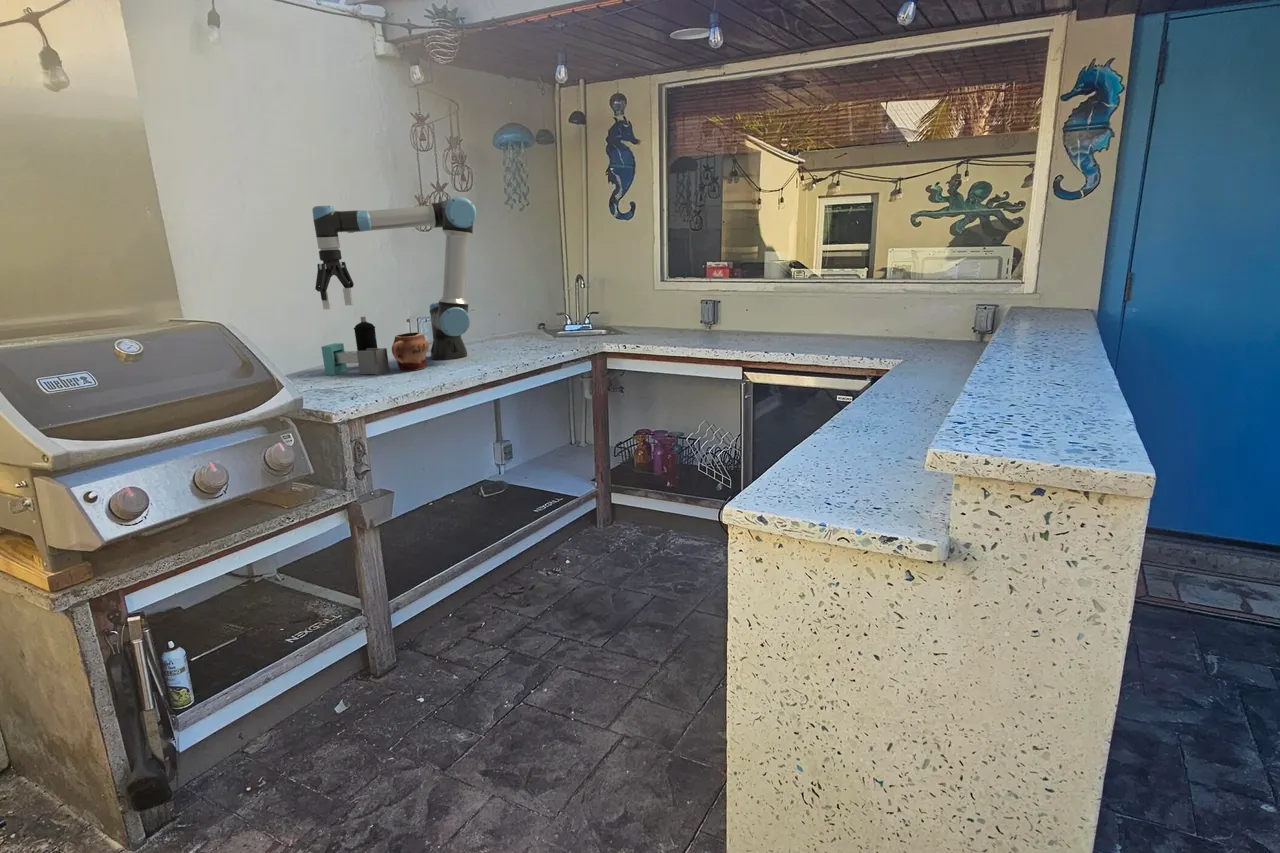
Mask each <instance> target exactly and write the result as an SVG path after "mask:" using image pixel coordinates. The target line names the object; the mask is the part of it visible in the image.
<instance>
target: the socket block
mask: <svg viewBox="0 0 1280 853" xmlns="http://www.w3.org/2000/svg"><path fill="white" fill-rule="evenodd" d="M344 346H345V345H344V342H343V343H342V342H340V343H338V342H336V343H335V342H334V343H330V344H326V345H322V346H321V353H322V359H323V365H324V366H323V367H324V374H325V376H336V375H340V374H343V373H346V372H345V371H347V372H348V367H347V366H348V365H347V363H336V364H335V360H334V353H333V351H337V350H338V351H345V347H344ZM342 372H343V373H342Z"/></svg>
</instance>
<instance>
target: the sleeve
mask: <svg viewBox="0 0 1280 853" xmlns="http://www.w3.org/2000/svg"><path fill="white" fill-rule="evenodd" d="M356 351H357V350H356ZM357 357H358V363H357V365H358V369H359V370H358V371H359V375H360V374H375V375H374V376H380V375H379V374H381V375H382V373H383V374H386V373H389V372H390V366H389V365H390V364H389V356H388V348H385V347H383V348H382V347H377V348H367V349H366V351H357ZM388 371H389V372H388ZM385 372H386V373H385Z"/></svg>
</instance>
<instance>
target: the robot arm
mask: <svg viewBox="0 0 1280 853" xmlns="http://www.w3.org/2000/svg"><path fill="white" fill-rule="evenodd" d="M476 219H477V209H476V206H475V205H474V203H473V202H472V201H471V200H470V199H468V198H466V197H464V196H453V197H451V198H448V199H445V200H443V201H438V202H432V203H430V202H429V203H428V204H427V206H426V205H425V206H414V207H399V208H388V209H387V208H385V209H373V210H361V209H359V210H341V211H339V210H336V209H335V207H334V206H333V205H316V206H313V208H312V220H313V224H314V230H315V237H316V241H317V248H318V249H319V251H318V255H319V260H320V261H322V263H317V274H316V280H315V287H314V288H315V290H316V291H317V292H320V298H321V302H322V309H323V310H332V306H331V305H332V304H331V300H330V299H331V298H330V292H329V291H328V288H329V284H330V281H331V278H332V277H333V276H334V277H337V279H338V281H339V282H340V283H341V285H342V286H343V288H342V291H343V299H344V305H345V307H346V306H353V305H354V304H353V297H352V290H351V288H354V286H355V285H354V282H353V279H352V276H351V275H350V274H351V273H350V272H349V270H348V267H347V265H346V262H345V261H341V260H342V259H343V258H342V252H341V250H340V249H339V248H341V244H340V238H339V233H349V234H350V233H351V234H352V233H358V232H368V231H369V232H370V231H381V230H391V229H393V230H394V229H403V228H417V227H418V228H419V227H431V228H432V229H433V228H442V230H441V231H442V233H444V234H445V249H444V250H445V252H444V253H445V254H444V270H443V286H442V287H443V290H442V297H441V298H440V299H439V300H438V302H433V303H431V304H429V315H430V321H431V322H430V323H431V332H432V340H433V341H432V344H431V347H430V359H431V360H452V359H461V358H465V357H467V356H468V350H467V348H466V346H465V343H464V341H463V338H462V335H464V334H466V332H467V331H468V330H469V328H470V325H471V318H470V315H469V302H468V301H467V300H466V285H467V284H466V283H467V271H468V270H467V269H468V268H467V267H468V252H469V251H468V250H469V239H470V237H472V236H473V230H474V223H475V222H476Z"/></svg>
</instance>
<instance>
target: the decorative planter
mask: <svg viewBox="0 0 1280 853" xmlns="http://www.w3.org/2000/svg"><path fill="white" fill-rule="evenodd" d="M429 343H430V342H428V340H427V339H426V337H425V336H424V333H422V332H407V333H401V334H397V335H395V337H394V340H393V343H392V346H391V354H392V355H393V357H394V359H395V360H396V362H397V366H398V368H399V370H400V371H401V372H403V371H404V372H407V371H408V372H409V371H410V372H411V371H417V370H422V369H424V368H427V360H426V359H427V357H426V356H427V352H428V350H429V349H430V348H429V347H430V346H429V345H430V344H429Z"/></svg>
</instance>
